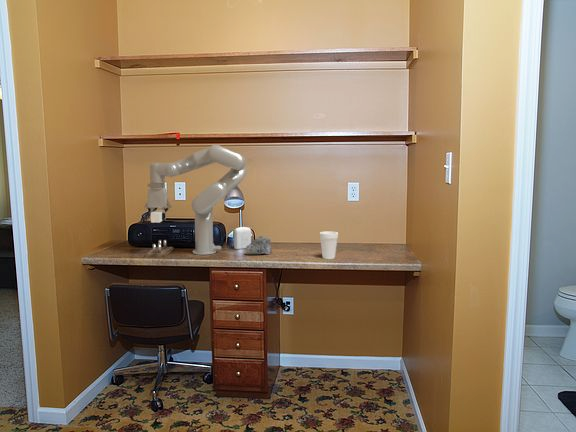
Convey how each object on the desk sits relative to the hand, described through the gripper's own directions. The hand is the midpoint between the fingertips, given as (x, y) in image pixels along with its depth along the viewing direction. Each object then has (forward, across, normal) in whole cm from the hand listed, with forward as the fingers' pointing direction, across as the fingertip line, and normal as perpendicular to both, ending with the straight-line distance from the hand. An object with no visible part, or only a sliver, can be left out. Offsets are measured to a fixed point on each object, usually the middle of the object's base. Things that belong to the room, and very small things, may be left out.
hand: (158, 219), depth 241 cm
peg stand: (+18, 0, 0) cm, 18 cm away
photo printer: (+18, +44, +12) cm, 49 cm away
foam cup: (+18, +90, -15) cm, 93 cm away
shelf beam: (0, 0, 0) cm, 0 cm away
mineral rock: (+18, +54, -4) cm, 57 cm away
